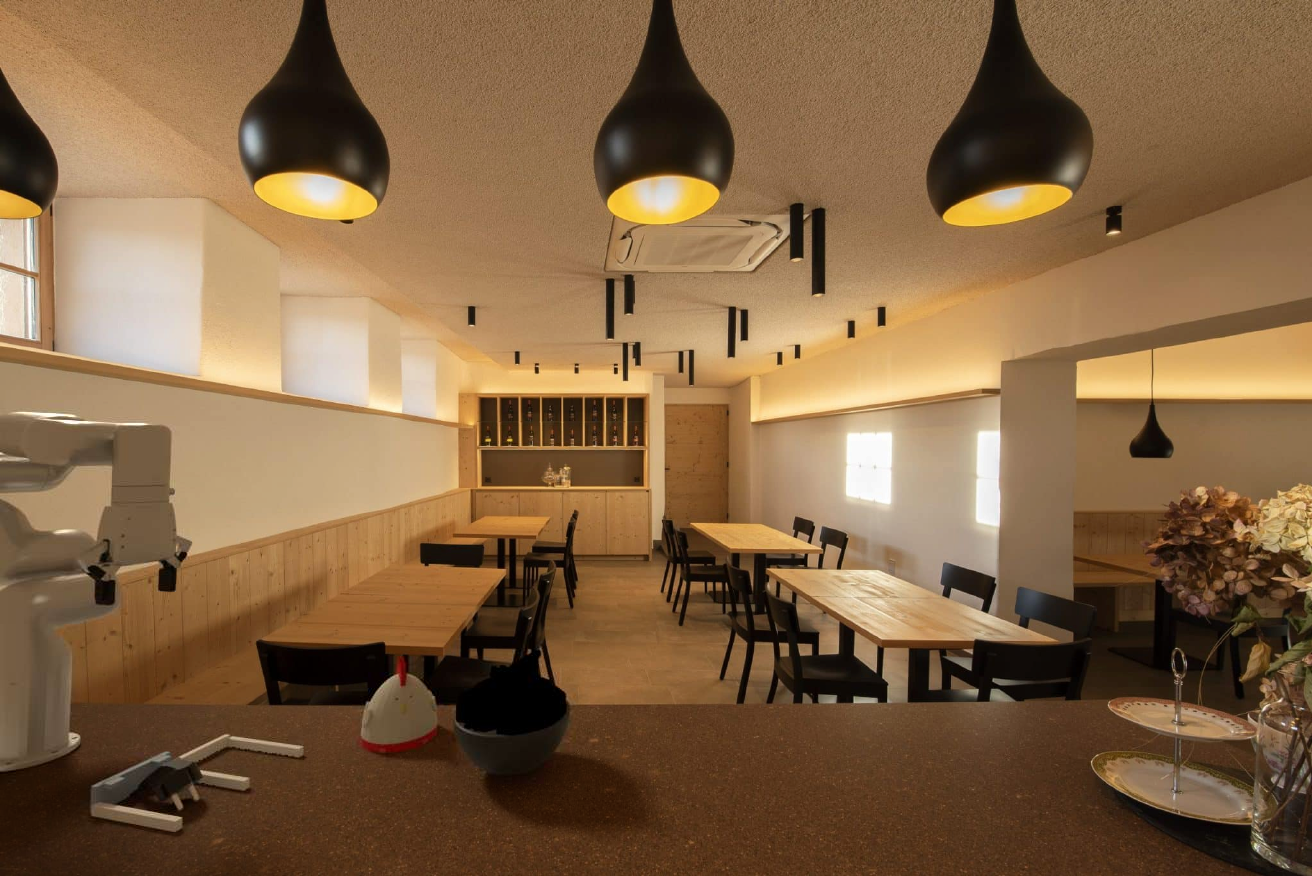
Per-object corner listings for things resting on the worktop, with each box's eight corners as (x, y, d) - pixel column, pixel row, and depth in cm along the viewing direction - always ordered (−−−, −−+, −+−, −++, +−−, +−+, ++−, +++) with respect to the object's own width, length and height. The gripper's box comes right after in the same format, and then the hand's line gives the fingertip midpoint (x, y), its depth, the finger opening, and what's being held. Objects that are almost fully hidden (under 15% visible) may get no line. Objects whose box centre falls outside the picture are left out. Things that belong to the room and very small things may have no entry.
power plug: (148, 781, 98) (198, 744, 96) (168, 823, 97) (218, 787, 95) (110, 800, 92) (162, 762, 90) (130, 845, 91) (183, 807, 89)
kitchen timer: (362, 760, 107) (365, 675, 107) (357, 729, 119) (359, 653, 119) (443, 742, 114) (445, 663, 114) (431, 714, 126) (432, 643, 126)
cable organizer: (86, 814, 90) (87, 788, 90) (227, 743, 112) (228, 722, 112) (175, 832, 86) (175, 804, 86) (303, 754, 108) (303, 732, 108)
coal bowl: (481, 817, 90) (483, 691, 91) (435, 763, 106) (437, 656, 106) (591, 773, 103) (593, 663, 104) (536, 731, 118) (537, 636, 119)
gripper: (175, 492, 110) (172, 585, 110) (63, 499, 93) (59, 608, 93) (207, 493, 109) (204, 588, 108) (99, 500, 92) (95, 612, 91)
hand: (137, 597), depth 100 cm, fingers open, 9 cm apart
